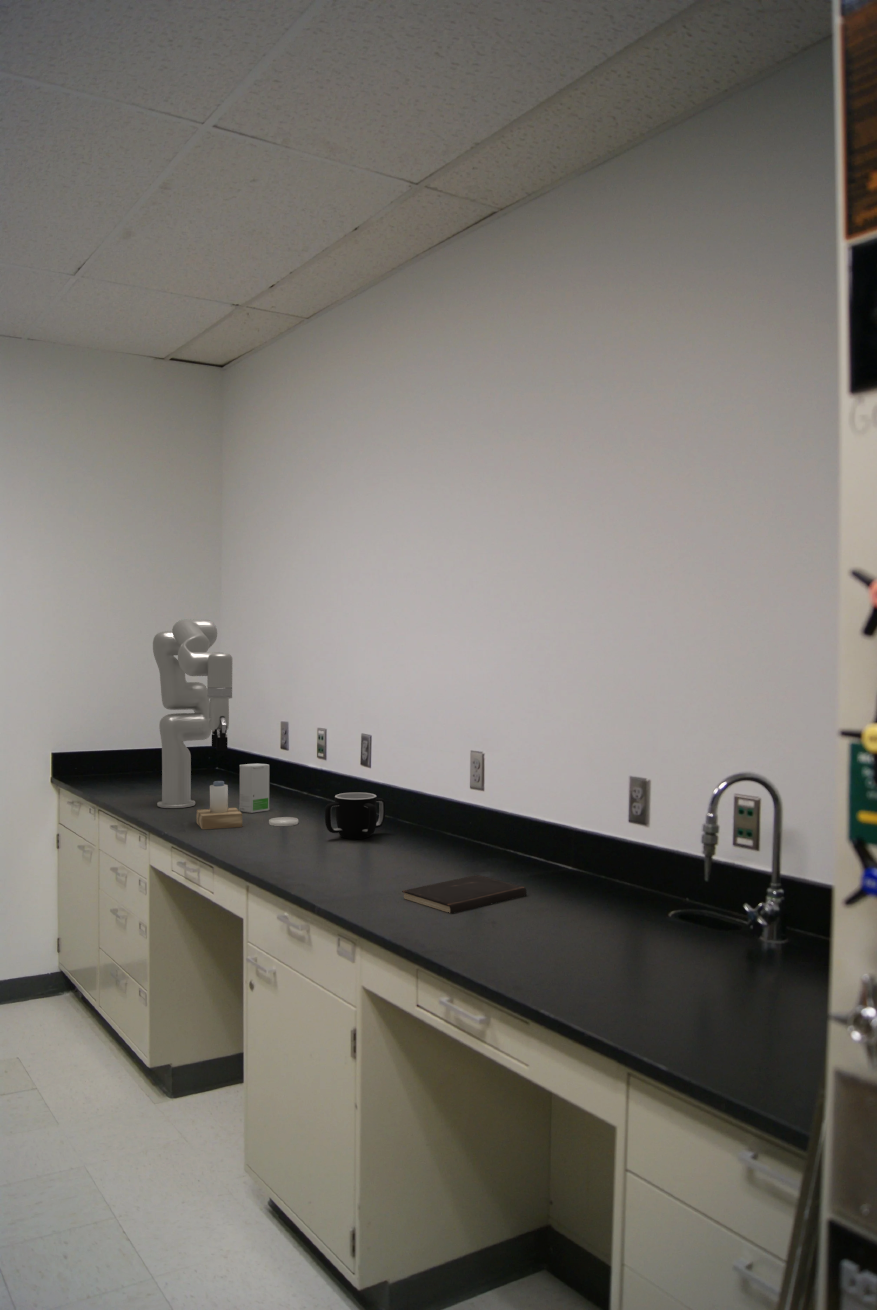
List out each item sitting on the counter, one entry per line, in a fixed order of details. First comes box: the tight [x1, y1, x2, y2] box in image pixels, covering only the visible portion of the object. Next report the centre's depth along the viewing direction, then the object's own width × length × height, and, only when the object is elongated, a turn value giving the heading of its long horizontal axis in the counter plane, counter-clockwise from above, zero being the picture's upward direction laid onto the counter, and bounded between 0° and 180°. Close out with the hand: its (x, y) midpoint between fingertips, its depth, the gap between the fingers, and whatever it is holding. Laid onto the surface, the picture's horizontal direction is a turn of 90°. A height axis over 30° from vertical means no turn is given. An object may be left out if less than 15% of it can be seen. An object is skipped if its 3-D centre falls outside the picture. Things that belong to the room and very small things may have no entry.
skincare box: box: [238, 762, 270, 814], centre depth 324 cm, size 8×7×16 cm
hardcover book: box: [401, 874, 527, 914], centre depth 216 cm, size 16×23×2 cm
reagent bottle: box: [209, 780, 229, 813], centre depth 300 cm, size 5×5×9 cm
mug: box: [324, 792, 386, 840], centre depth 282 cm, size 16×16×12 cm
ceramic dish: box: [268, 816, 299, 827], centre depth 302 cm, size 9×9×1 cm
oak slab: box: [196, 807, 243, 830], centre depth 299 cm, size 12×12×4 cm
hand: (219, 748), depth 300 cm, fingers open, 9 cm apart
